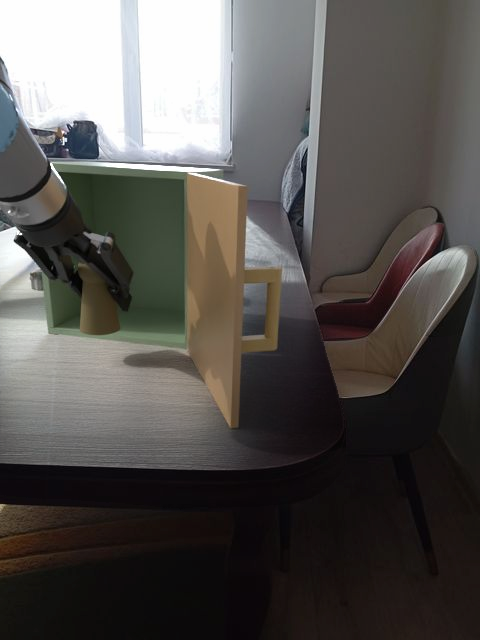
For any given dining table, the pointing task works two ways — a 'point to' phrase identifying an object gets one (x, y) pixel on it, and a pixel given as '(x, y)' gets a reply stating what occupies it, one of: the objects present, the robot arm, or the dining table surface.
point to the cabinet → (133, 247)
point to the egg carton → (36, 279)
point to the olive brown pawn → (96, 305)
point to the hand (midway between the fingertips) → (110, 302)
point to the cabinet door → (223, 288)
